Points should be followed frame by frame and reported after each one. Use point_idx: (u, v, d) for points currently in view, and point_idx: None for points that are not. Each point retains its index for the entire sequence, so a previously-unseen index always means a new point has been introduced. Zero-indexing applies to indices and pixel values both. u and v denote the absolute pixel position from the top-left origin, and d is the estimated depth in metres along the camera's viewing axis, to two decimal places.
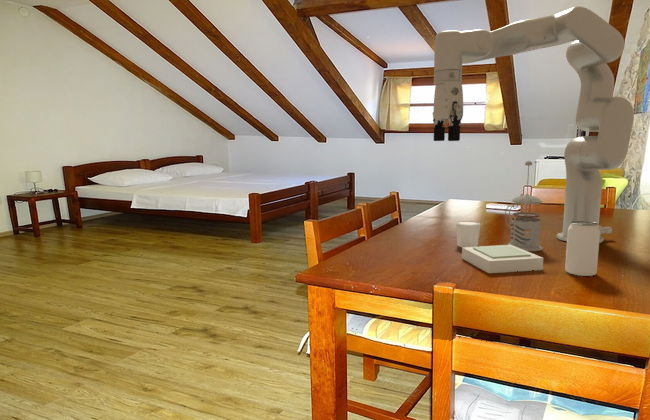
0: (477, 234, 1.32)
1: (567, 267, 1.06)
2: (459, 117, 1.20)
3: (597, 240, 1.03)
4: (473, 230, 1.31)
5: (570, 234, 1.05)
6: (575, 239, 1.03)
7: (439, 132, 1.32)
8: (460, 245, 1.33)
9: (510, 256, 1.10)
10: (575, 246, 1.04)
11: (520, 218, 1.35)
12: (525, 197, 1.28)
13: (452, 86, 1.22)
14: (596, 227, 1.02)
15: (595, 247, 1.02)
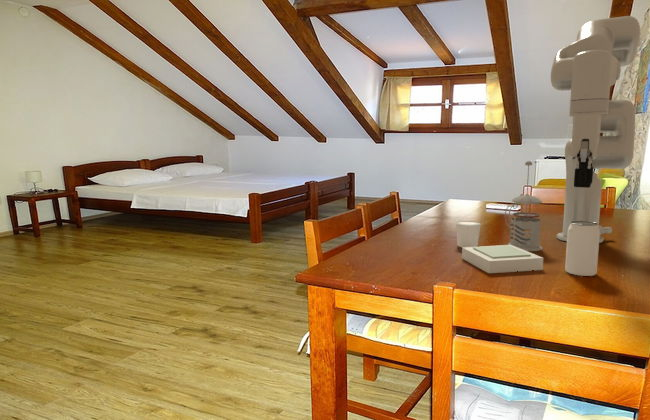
0: (477, 234, 1.32)
1: (567, 267, 1.06)
2: None
3: (597, 240, 1.03)
4: (473, 230, 1.31)
5: (570, 234, 1.05)
6: (575, 239, 1.03)
7: None
8: (460, 245, 1.33)
9: (510, 256, 1.10)
10: (575, 246, 1.04)
11: (520, 218, 1.35)
12: (525, 197, 1.28)
13: None
14: (596, 227, 1.02)
15: (595, 247, 1.02)
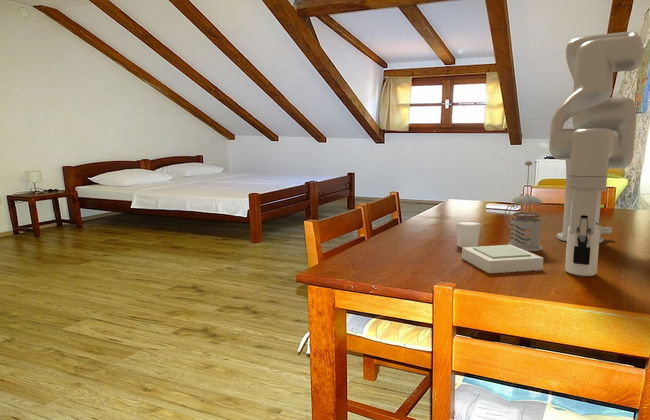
0: (477, 234, 1.32)
1: (567, 267, 1.06)
2: None
3: (597, 240, 1.03)
4: (473, 230, 1.31)
5: (570, 234, 1.05)
6: (575, 239, 1.04)
7: None
8: (460, 245, 1.33)
9: (510, 256, 1.10)
10: None
11: (520, 218, 1.35)
12: (525, 197, 1.28)
13: None
14: (596, 227, 1.02)
15: (595, 247, 1.03)
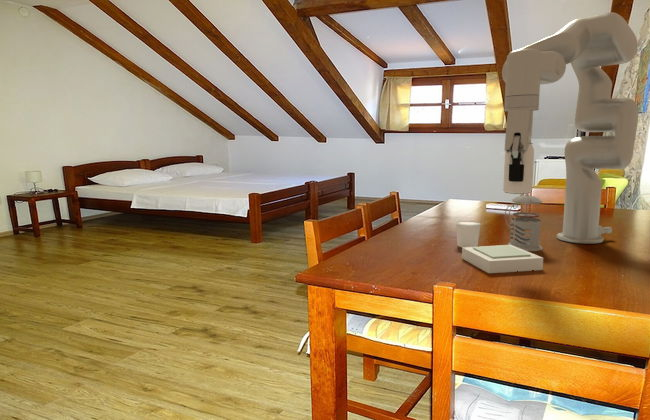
0: (477, 234, 1.32)
1: (504, 187, 1.11)
2: None
3: (531, 158, 1.07)
4: (473, 230, 1.31)
5: (506, 154, 1.09)
6: None
7: None
8: (460, 245, 1.33)
9: (510, 256, 1.10)
10: None
11: (520, 218, 1.35)
12: (525, 197, 1.28)
13: None
14: (530, 145, 1.07)
15: (529, 165, 1.07)
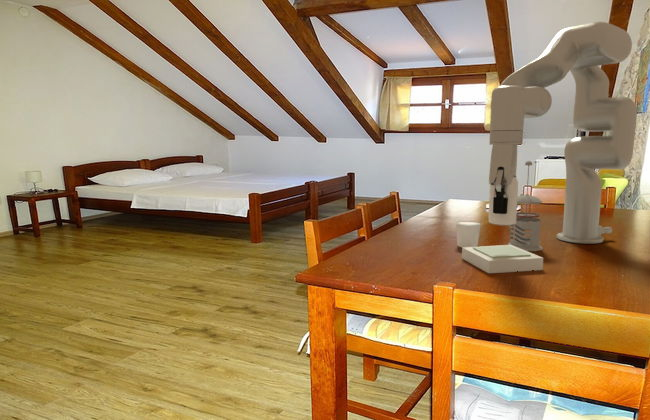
0: (477, 234, 1.32)
1: (489, 218, 1.13)
2: None
3: (515, 191, 1.10)
4: (473, 230, 1.31)
5: (491, 186, 1.12)
6: None
7: None
8: (460, 245, 1.33)
9: (510, 256, 1.10)
10: None
11: (520, 218, 1.35)
12: (525, 197, 1.28)
13: None
14: (514, 179, 1.10)
15: (513, 197, 1.10)
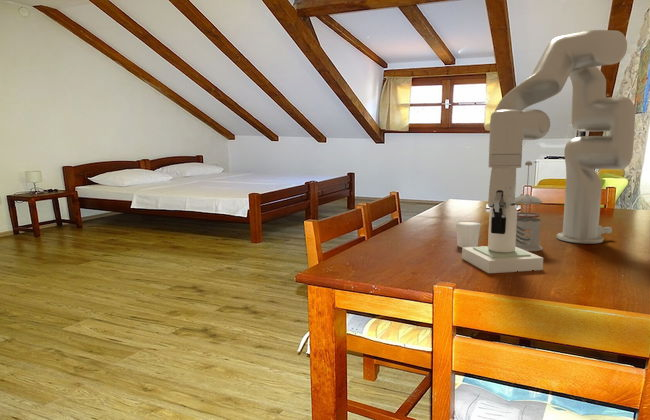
0: (477, 234, 1.32)
1: (489, 245, 1.15)
2: None
3: (514, 219, 1.11)
4: (473, 230, 1.31)
5: (490, 214, 1.13)
6: None
7: None
8: (460, 245, 1.33)
9: (510, 256, 1.10)
10: None
11: (520, 218, 1.35)
12: (525, 197, 1.28)
13: None
14: (513, 207, 1.11)
15: (512, 226, 1.11)
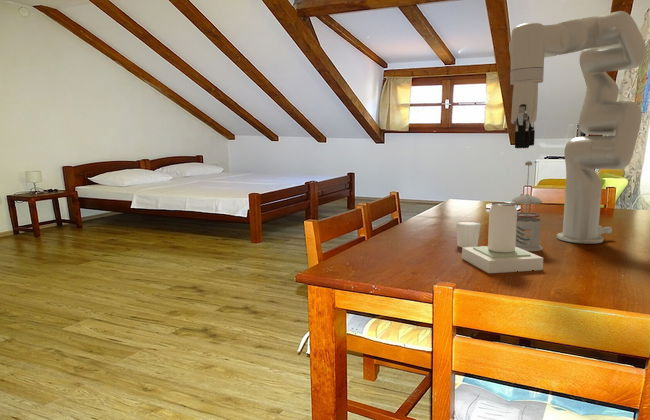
0: (477, 234, 1.32)
1: (489, 245, 1.15)
2: None
3: (514, 219, 1.11)
4: (473, 230, 1.31)
5: (490, 214, 1.13)
6: (494, 218, 1.12)
7: None
8: (460, 245, 1.33)
9: (510, 256, 1.10)
10: (495, 225, 1.12)
11: (520, 218, 1.35)
12: (525, 197, 1.28)
13: None
14: (513, 207, 1.11)
15: (512, 226, 1.11)
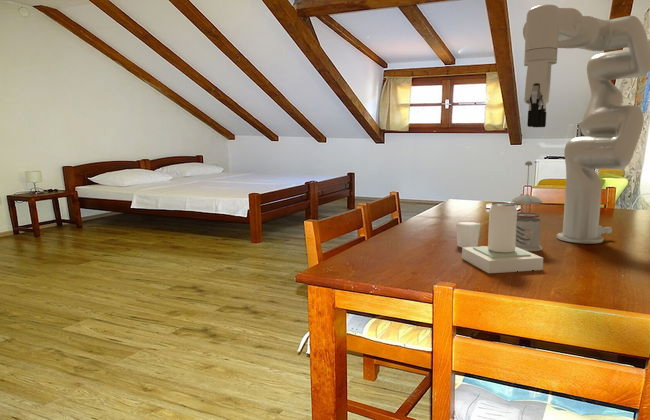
0: (477, 234, 1.32)
1: (489, 245, 1.15)
2: None
3: (514, 219, 1.11)
4: (473, 230, 1.31)
5: (490, 214, 1.13)
6: (494, 218, 1.12)
7: None
8: (460, 245, 1.33)
9: (510, 256, 1.10)
10: (494, 225, 1.12)
11: (520, 218, 1.35)
12: (525, 197, 1.28)
13: None
14: (513, 207, 1.11)
15: (512, 226, 1.11)
